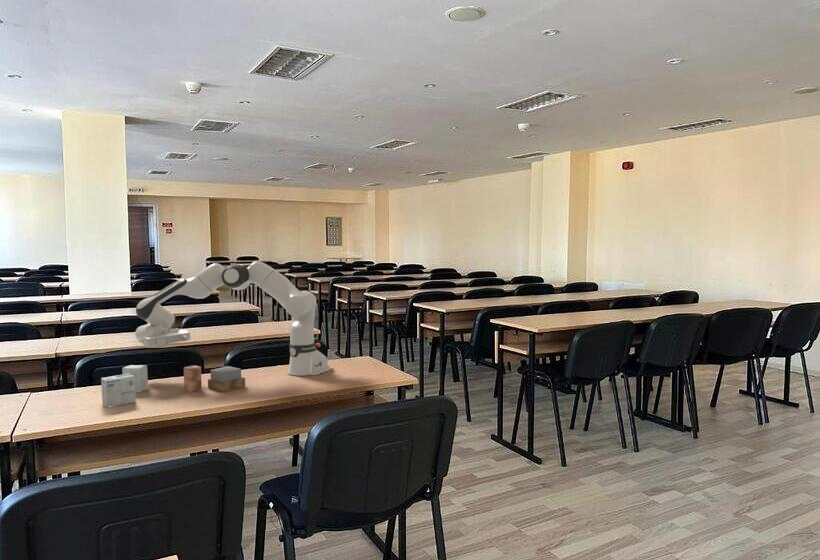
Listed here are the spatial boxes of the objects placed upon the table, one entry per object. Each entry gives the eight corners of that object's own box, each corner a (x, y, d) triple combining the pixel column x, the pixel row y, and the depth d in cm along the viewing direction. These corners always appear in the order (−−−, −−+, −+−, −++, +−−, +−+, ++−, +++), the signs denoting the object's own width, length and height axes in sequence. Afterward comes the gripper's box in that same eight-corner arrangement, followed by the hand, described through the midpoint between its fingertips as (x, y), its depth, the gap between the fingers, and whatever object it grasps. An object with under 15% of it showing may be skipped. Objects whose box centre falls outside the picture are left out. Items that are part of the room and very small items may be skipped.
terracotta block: (195, 388, 239) (194, 365, 238) (201, 389, 236) (200, 366, 235) (184, 390, 235) (183, 367, 234) (190, 392, 232) (190, 369, 231)
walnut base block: (230, 384, 247) (229, 374, 247) (245, 388, 240) (245, 377, 240) (208, 389, 238) (207, 379, 238) (223, 393, 232) (222, 383, 231)
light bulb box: (130, 399, 223) (129, 372, 222) (136, 402, 218) (135, 375, 217) (101, 404, 216) (100, 377, 215) (106, 408, 211) (105, 380, 210)
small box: (148, 389, 237) (147, 365, 237) (140, 392, 232) (139, 368, 231) (130, 388, 238) (129, 364, 237) (122, 392, 233) (121, 367, 232)
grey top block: (228, 375, 245) (228, 366, 245) (241, 377, 240) (241, 368, 240) (210, 379, 238) (210, 370, 238) (223, 382, 233) (223, 372, 232)
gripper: (136, 333, 241) (152, 336, 233) (180, 327, 257) (196, 330, 249) (136, 347, 242) (153, 351, 233) (180, 340, 258) (197, 344, 249)
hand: (176, 340), depth 241 cm, fingers open, 8 cm apart
